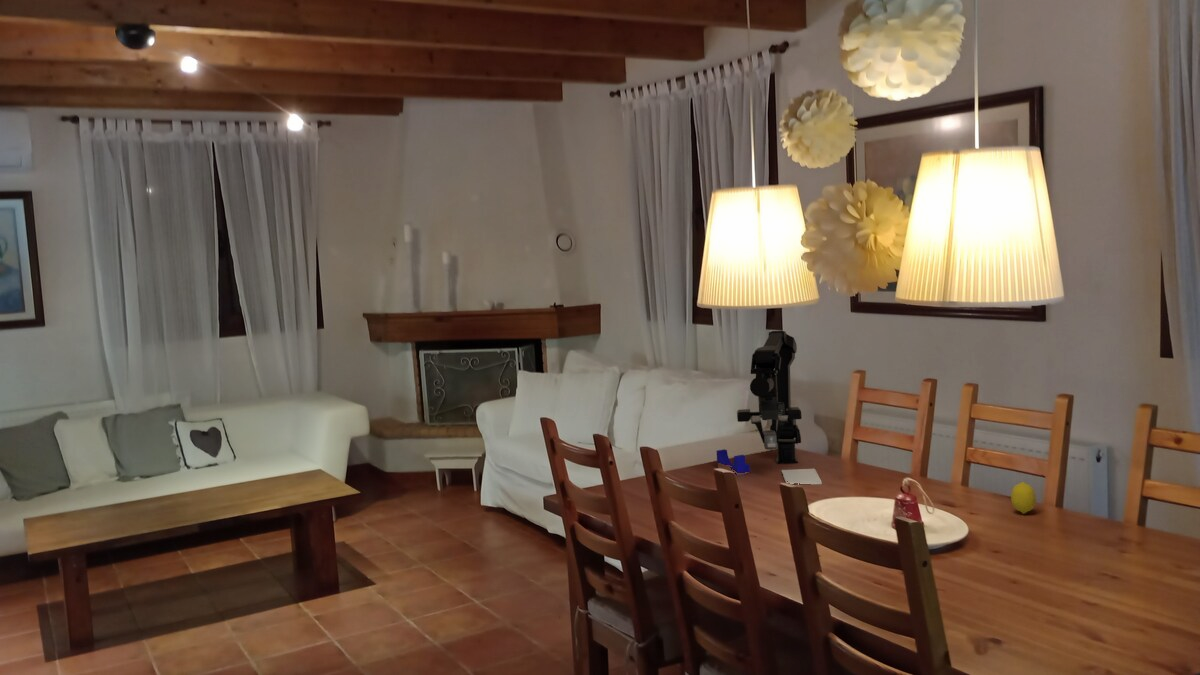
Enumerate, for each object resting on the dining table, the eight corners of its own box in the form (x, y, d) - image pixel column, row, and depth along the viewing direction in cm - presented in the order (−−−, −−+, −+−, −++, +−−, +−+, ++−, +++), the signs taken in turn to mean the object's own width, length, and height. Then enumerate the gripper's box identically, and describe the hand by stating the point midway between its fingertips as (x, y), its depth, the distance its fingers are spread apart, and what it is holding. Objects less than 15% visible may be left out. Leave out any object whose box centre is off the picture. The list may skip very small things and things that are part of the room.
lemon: (1022, 518, 229) (1021, 485, 228) (1006, 512, 234) (1005, 481, 234) (1041, 515, 230) (1040, 482, 230) (1025, 509, 236) (1024, 478, 235)
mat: (781, 472, 290) (781, 470, 290) (814, 471, 289) (814, 468, 289) (786, 485, 275) (786, 482, 275) (821, 484, 274) (821, 481, 274)
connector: (765, 452, 276) (765, 438, 275) (763, 443, 288) (762, 430, 288) (778, 451, 275) (777, 438, 275) (775, 442, 288) (774, 429, 287)
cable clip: (750, 473, 292) (749, 454, 292) (737, 476, 290) (736, 456, 290) (729, 467, 303) (728, 448, 303) (717, 469, 301) (716, 450, 301)
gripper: (736, 397, 275) (739, 449, 276) (802, 394, 273) (804, 447, 274) (735, 391, 286) (738, 442, 287) (798, 388, 284) (801, 439, 285)
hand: (770, 442), depth 283 cm, fingers closed on connector, 3 cm apart
